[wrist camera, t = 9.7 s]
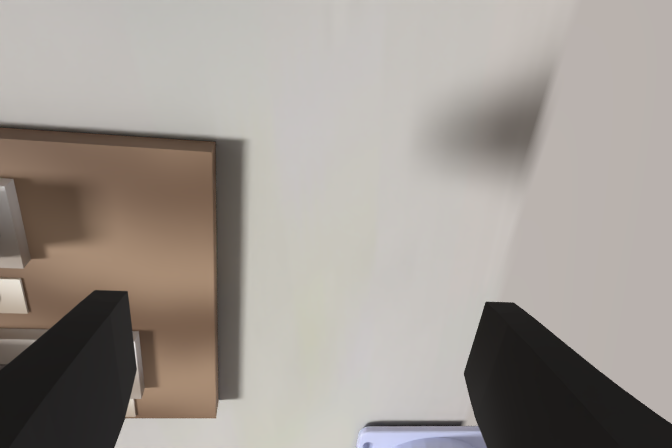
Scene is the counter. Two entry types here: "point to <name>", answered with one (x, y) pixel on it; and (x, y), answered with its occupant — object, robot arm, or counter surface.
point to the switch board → (116, 252)
